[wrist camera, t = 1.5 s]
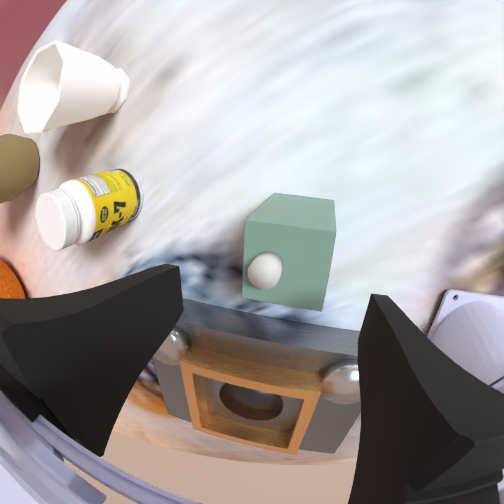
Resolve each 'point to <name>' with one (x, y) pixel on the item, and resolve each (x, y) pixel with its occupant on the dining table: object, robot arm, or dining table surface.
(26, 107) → the cup
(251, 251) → the spout tin
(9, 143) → the squeeze bottle
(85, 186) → the supplement bottle
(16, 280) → the decorative sphere
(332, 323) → the dining table surface
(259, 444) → the grey framed base plate
